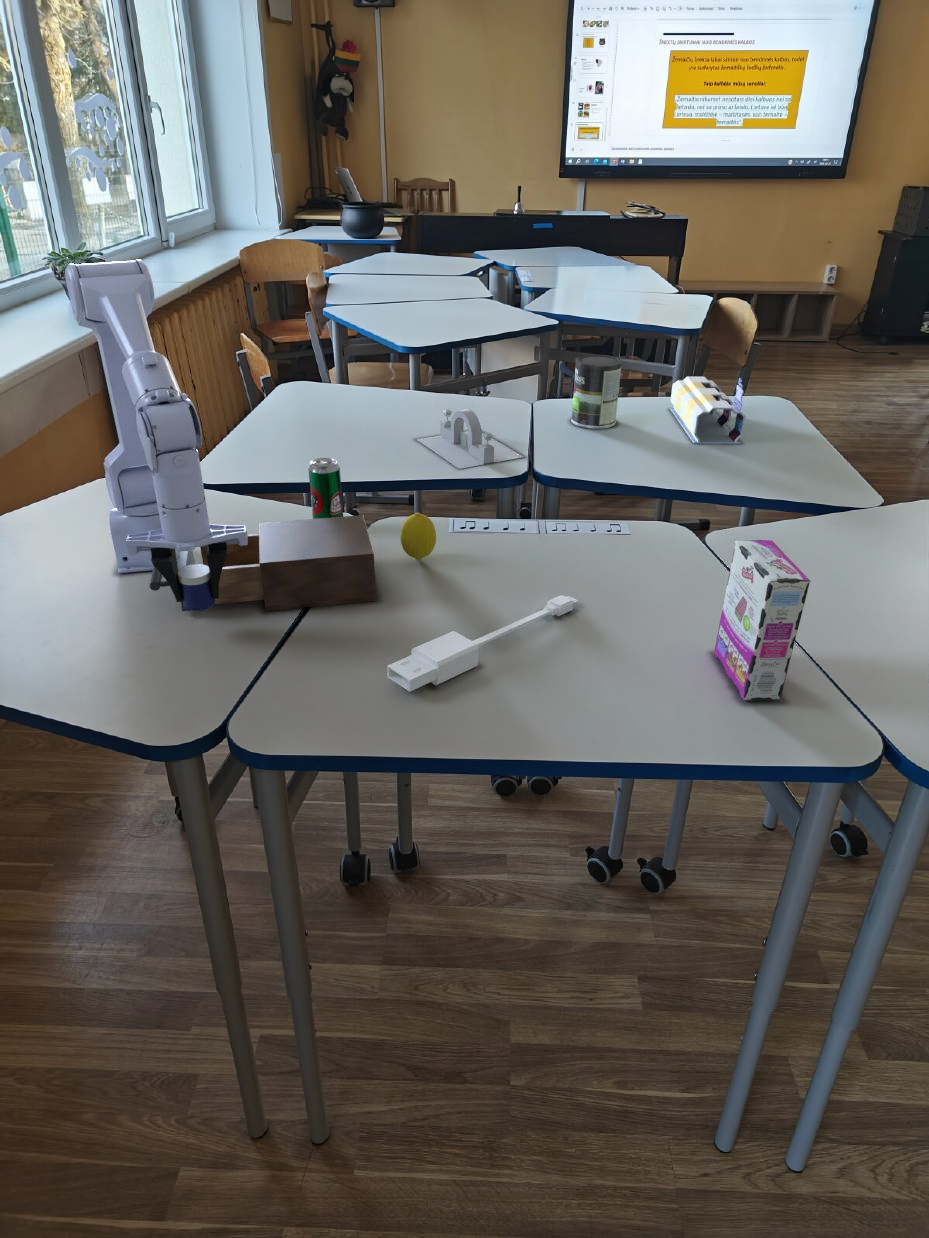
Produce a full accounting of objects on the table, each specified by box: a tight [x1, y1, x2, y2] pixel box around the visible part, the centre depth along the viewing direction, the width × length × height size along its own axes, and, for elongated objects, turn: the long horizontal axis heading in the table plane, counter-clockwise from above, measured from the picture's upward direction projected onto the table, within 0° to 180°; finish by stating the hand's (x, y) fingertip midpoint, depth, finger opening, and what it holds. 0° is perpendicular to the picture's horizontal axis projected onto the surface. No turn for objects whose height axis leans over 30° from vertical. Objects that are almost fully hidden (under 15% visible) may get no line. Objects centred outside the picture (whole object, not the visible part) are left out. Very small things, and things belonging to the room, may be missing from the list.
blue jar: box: [177, 563, 215, 612], centre depth 112 cm, size 4×4×5 cm
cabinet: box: [258, 514, 377, 612], centre depth 125 cm, size 16×14×8 cm
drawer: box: [149, 533, 264, 612], centre depth 123 cm, size 19×12×6 cm, turn 102°
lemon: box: [400, 512, 437, 561], centre depth 132 cm, size 6×6×8 cm
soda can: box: [308, 457, 344, 519], centre depth 141 cm, size 5×5×12 cm
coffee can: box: [570, 353, 623, 430], centre depth 193 cm, size 10×10×14 cm
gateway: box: [439, 408, 496, 465], centre depth 178 cm, size 20×2×8 cm, turn 28°
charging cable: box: [386, 594, 579, 693], centre depth 112 cm, size 5×32×3 cm, turn 133°
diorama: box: [669, 375, 746, 445], centre depth 191 cm, size 25×10×13 cm, turn 0°
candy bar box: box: [713, 539, 811, 702], centre depth 103 cm, size 11×5×16 cm, turn 5°
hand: (198, 596), depth 112 cm, fingers closed on blue jar, 4 cm apart
